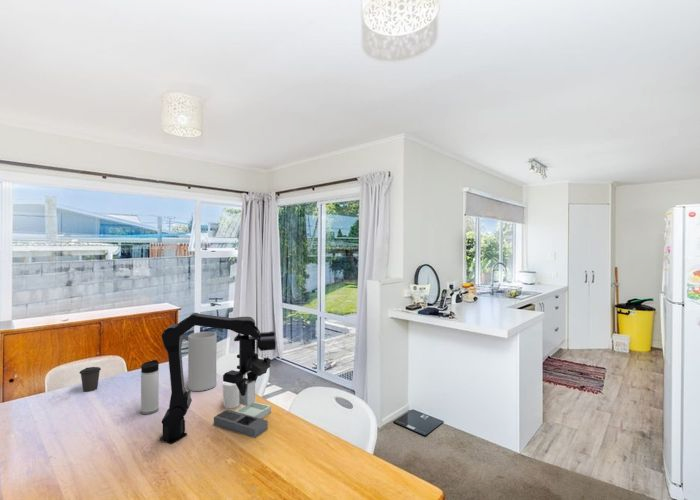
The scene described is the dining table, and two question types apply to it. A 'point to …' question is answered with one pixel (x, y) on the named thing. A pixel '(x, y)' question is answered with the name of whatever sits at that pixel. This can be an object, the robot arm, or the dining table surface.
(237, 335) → the robot arm
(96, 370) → the coffee cup
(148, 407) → the travel mug
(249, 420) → the rail
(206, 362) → the cylinder vase
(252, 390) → the brushed aluminium bar
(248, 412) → the parts tray
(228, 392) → the white cup
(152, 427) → the dining table surface
